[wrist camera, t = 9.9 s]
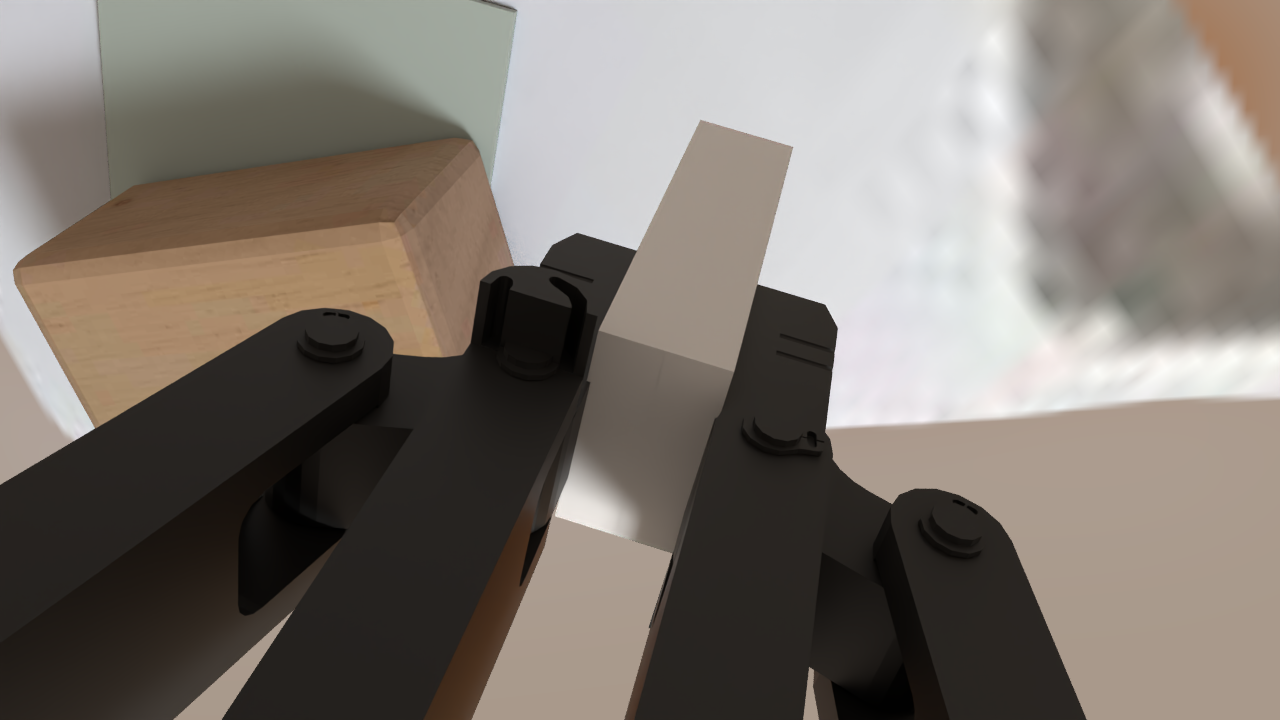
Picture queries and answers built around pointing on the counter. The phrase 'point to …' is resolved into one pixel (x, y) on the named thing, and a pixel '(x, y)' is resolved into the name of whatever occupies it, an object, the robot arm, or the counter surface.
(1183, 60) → the counter surface
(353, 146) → the mat
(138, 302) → the wooden block
